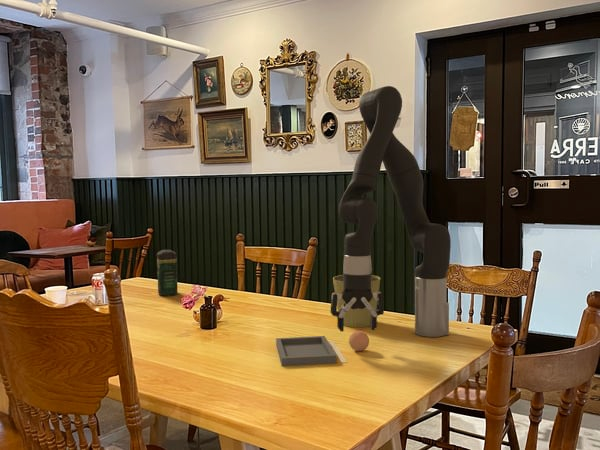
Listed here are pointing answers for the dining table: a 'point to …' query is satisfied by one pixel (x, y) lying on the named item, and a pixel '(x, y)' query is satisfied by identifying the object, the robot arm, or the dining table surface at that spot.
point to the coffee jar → (167, 272)
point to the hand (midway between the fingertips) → (356, 330)
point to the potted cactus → (357, 315)
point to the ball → (359, 340)
